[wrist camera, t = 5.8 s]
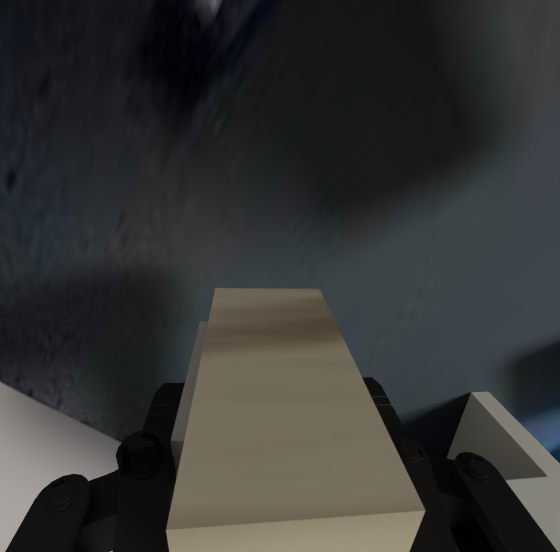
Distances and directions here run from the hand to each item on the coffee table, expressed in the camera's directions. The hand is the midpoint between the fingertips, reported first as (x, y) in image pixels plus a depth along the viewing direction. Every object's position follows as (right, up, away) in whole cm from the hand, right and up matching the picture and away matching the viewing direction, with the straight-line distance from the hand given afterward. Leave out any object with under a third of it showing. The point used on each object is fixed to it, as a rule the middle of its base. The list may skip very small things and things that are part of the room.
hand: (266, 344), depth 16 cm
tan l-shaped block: (0, -7, +3) cm, 8 cm away
